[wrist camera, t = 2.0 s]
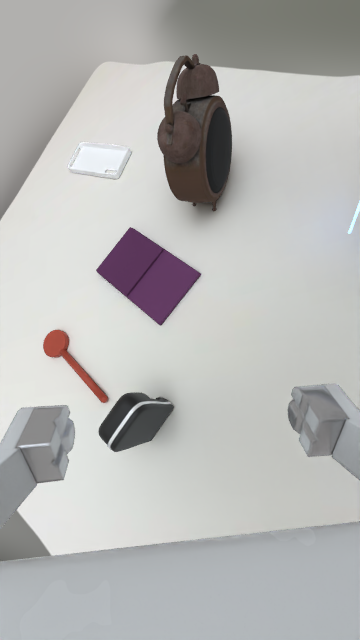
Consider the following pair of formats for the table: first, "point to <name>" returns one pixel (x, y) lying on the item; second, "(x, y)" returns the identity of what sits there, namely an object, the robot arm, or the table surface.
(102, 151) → the phone case
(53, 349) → the spoon
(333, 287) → the table surface
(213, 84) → the alarm clock
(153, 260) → the cloth
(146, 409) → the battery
